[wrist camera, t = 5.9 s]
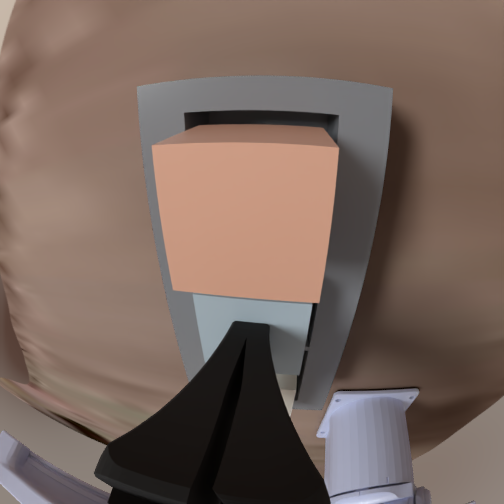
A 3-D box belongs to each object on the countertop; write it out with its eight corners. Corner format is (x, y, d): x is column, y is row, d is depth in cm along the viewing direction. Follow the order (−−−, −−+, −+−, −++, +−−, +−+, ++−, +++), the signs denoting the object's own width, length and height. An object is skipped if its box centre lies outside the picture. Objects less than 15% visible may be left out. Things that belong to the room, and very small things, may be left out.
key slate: (300, 318, 15) (299, 375, 12) (222, 311, 16) (205, 365, 12) (309, 249, 13) (312, 304, 10) (216, 243, 13) (192, 294, 10)
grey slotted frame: (321, 371, 20) (321, 410, 17) (205, 360, 21) (193, 396, 18) (368, 88, 11) (393, 88, 8) (172, 85, 12) (137, 86, 9)
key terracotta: (314, 239, 11) (319, 303, 8) (206, 232, 12) (173, 290, 8) (323, 127, 9) (339, 147, 6) (199, 125, 9) (151, 145, 6)
